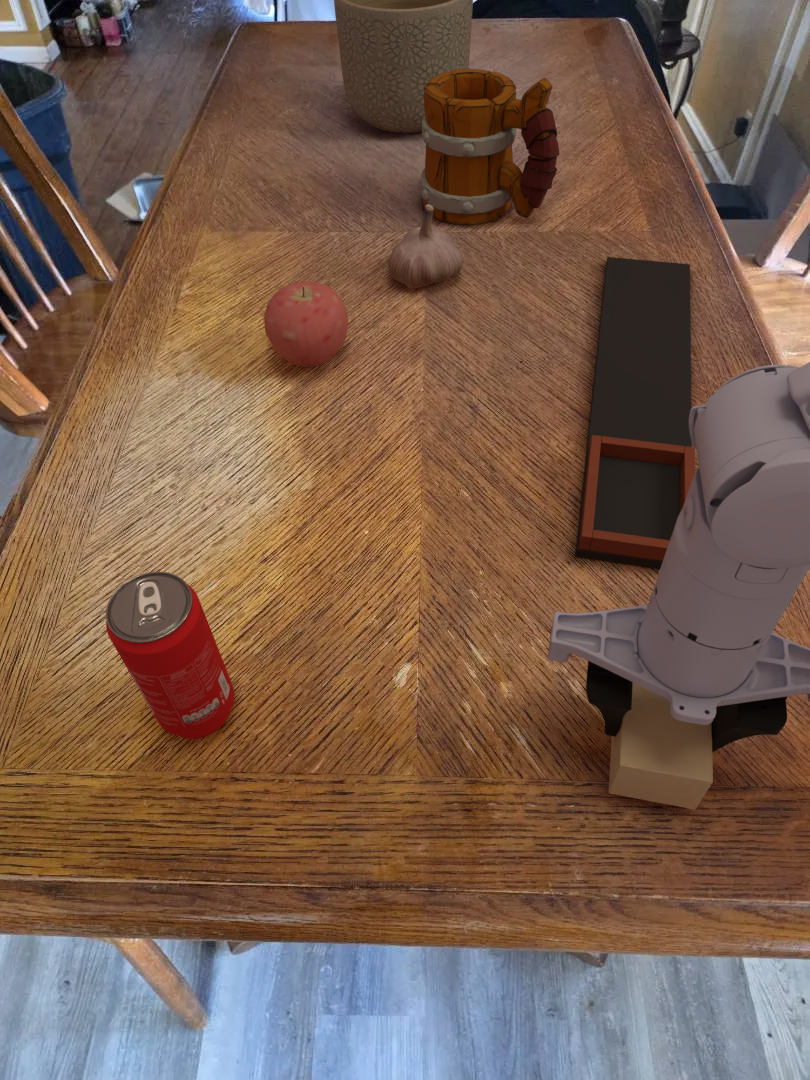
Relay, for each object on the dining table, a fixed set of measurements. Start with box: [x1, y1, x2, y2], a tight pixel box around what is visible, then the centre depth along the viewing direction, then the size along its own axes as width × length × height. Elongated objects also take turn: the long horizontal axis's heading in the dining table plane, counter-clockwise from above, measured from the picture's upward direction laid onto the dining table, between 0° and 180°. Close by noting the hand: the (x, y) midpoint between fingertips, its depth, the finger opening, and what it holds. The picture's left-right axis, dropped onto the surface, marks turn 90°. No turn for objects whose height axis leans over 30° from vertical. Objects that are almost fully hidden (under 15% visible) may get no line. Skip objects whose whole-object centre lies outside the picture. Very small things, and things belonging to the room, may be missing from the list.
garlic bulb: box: [387, 204, 464, 289], centre depth 82 cm, size 8×7×8 cm
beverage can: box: [105, 571, 235, 740], centre depth 49 cm, size 5×5×12 cm
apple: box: [263, 280, 349, 368], centre depth 74 cm, size 7×7×8 cm
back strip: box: [574, 256, 696, 570], centre depth 72 cm, size 8×40×2 cm, turn 168°
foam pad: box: [608, 682, 714, 810], centre depth 49 cm, size 5×8×4 cm, turn 168°
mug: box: [419, 68, 560, 226], centre depth 88 cm, size 11×16×15 cm, turn 56°
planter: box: [333, 0, 474, 134], centre depth 103 cm, size 17×17×15 cm
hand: (657, 729), depth 49 cm, fingers closed on foam pad, 5 cm apart
